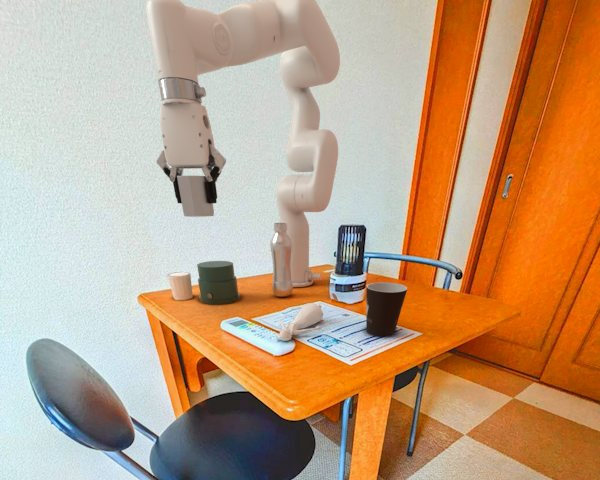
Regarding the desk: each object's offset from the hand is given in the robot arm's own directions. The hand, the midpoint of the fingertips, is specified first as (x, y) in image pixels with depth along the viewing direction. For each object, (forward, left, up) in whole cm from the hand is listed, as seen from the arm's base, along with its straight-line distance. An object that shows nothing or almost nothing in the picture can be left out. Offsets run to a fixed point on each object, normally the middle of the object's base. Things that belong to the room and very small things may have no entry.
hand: (197, 202), depth 71 cm
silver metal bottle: (-14, -19, -25) cm, 35 cm away
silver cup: (0, 0, -3) cm, 3 cm away
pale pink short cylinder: (+16, -11, -25) cm, 32 cm away
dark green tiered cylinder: (+4, -12, -25) cm, 28 cm away
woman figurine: (-26, +8, -25) cm, 37 cm away
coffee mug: (-45, +4, -25) cm, 52 cm away
